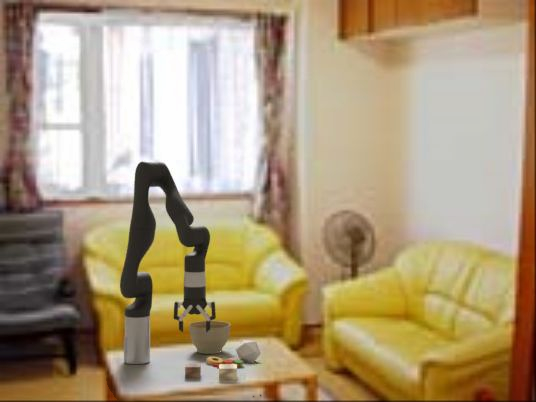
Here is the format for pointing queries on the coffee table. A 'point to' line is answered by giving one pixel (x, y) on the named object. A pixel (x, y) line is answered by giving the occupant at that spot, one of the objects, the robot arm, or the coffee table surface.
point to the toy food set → (224, 361)
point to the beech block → (227, 371)
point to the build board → (240, 379)
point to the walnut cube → (192, 371)
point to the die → (248, 351)
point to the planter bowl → (209, 336)
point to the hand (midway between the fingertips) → (194, 331)
